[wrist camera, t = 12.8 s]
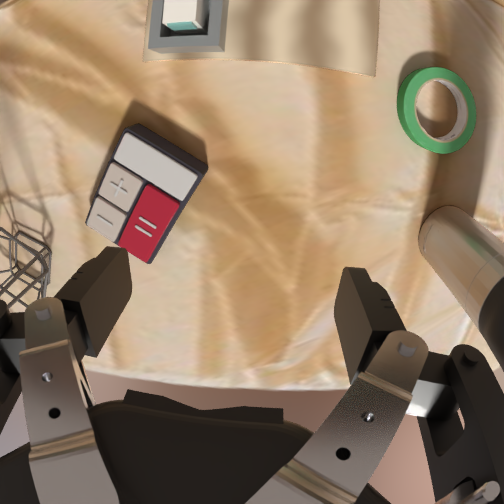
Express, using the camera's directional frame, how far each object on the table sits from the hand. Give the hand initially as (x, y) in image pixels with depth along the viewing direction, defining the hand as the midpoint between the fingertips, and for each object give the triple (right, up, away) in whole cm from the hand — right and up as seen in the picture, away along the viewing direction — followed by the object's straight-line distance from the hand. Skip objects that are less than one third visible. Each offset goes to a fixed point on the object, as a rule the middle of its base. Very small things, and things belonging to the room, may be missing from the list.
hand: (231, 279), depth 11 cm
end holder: (-6, +28, +16) cm, 33 cm away
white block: (-6, +28, +15) cm, 32 cm away
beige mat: (+2, +29, +17) cm, 33 cm away
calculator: (-13, +9, +28) cm, 32 cm away
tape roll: (+24, +19, +21) cm, 37 cm away
